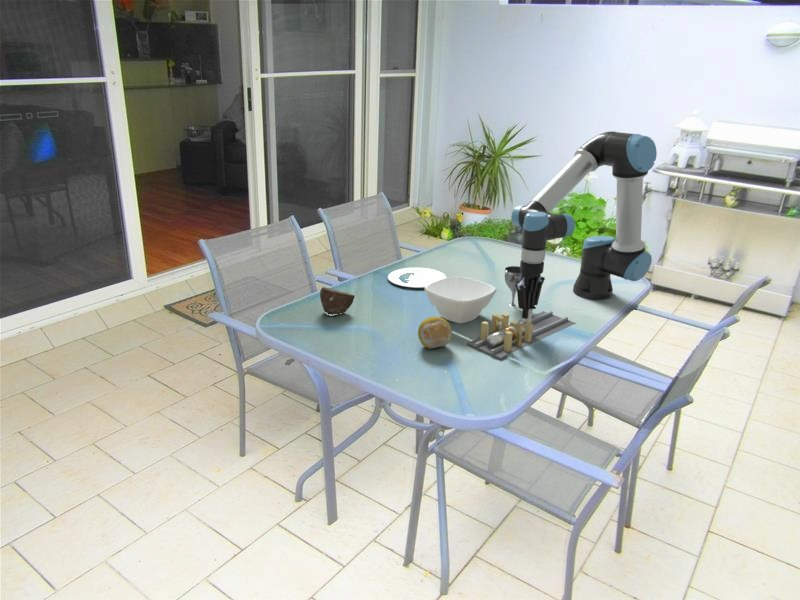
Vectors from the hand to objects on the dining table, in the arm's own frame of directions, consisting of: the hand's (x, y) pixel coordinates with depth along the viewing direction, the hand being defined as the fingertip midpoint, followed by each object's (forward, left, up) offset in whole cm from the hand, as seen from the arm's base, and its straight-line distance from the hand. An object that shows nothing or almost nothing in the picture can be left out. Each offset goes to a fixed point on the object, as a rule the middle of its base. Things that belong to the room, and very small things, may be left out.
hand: (526, 326), depth 203 cm
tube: (+8, +6, -2) cm, 10 cm away
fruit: (+32, +8, -3) cm, 34 cm away
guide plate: (+1, +1, -3) cm, 3 cm away
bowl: (+20, -15, -3) cm, 25 cm away
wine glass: (-2, -24, -3) cm, 24 cm away
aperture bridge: (+8, +6, -3) cm, 11 cm away
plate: (+31, -56, -3) cm, 64 cm away
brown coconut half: (+65, -21, -3) cm, 69 cm away
